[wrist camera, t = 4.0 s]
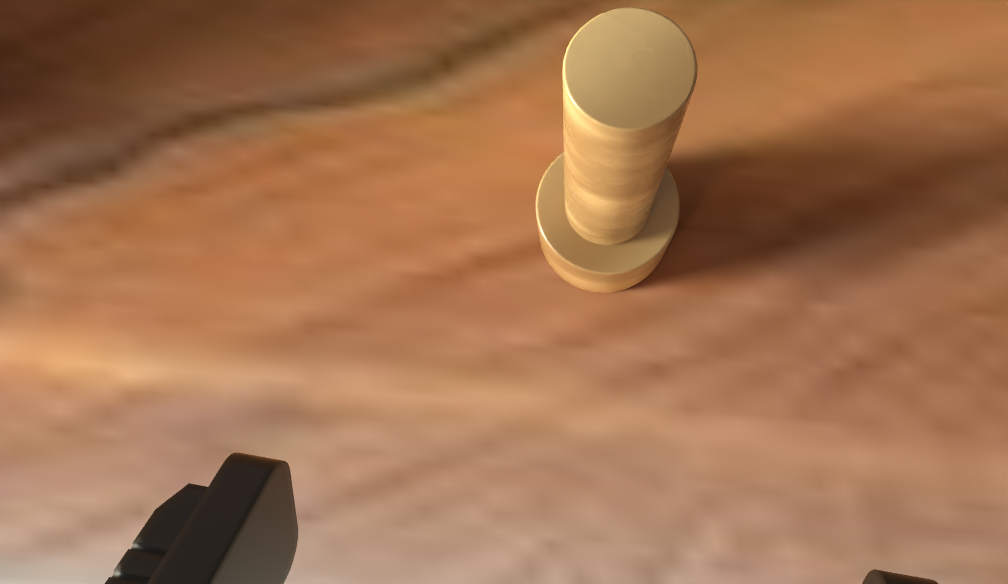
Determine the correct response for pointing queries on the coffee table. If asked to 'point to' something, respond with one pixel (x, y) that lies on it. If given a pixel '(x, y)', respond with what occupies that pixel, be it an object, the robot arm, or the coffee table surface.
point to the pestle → (616, 150)
